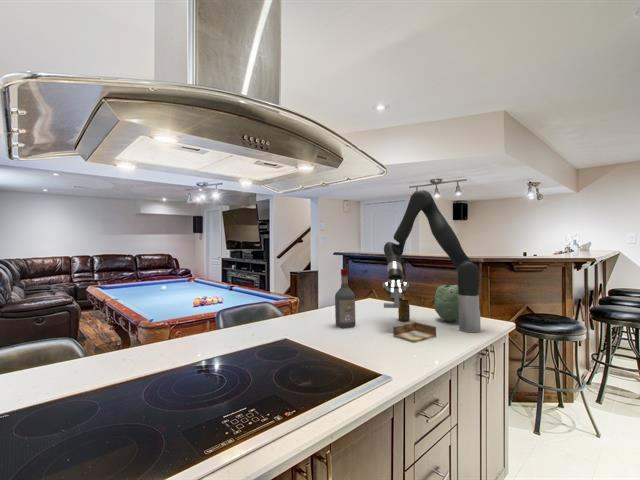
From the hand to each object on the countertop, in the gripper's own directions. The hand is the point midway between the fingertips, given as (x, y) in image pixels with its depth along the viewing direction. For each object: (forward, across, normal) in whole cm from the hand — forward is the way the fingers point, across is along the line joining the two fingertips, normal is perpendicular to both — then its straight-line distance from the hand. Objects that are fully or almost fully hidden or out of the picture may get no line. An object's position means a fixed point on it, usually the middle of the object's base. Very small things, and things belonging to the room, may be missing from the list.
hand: (396, 299), depth 156 cm
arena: (+15, +7, +7) cm, 18 cm away
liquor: (+4, -26, +19) cm, 33 cm away
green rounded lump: (-8, +29, +30) cm, 43 cm away
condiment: (-7, +5, +30) cm, 31 cm away
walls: (+15, +7, +7) cm, 18 cm away
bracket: (+1, -2, +4) cm, 5 cm away
